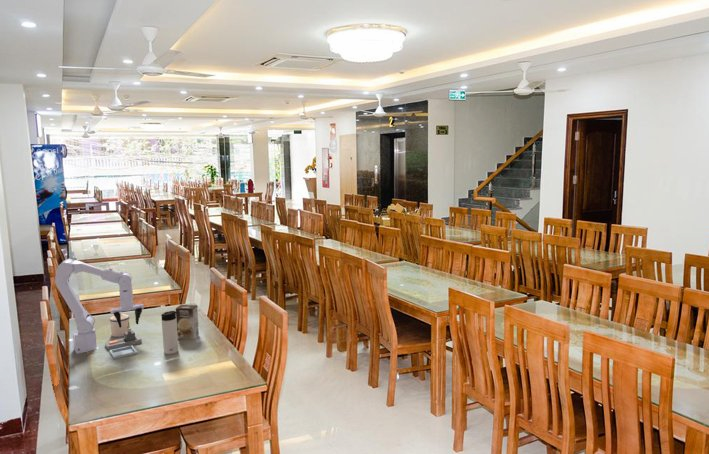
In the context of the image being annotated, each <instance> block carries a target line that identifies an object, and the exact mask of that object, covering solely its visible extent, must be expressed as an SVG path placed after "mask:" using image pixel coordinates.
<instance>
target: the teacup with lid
mask: <svg viewBox="0 0 709 454" xmlns="http://www.w3.org/2000/svg"><path fill="white" fill-rule="evenodd" d="M119 313H120V315H121V328H120V327H119V324H118V322H117V319H116V318H115V316H114V315H112V316H111V317H110V318H109V321H110V331H111V336H112V337H114V338H121V337H122V338H123V337H125V335H124V332H128V328H131V327H130V316H129V315H128V314H127V313H126V314H124V313H122V312H119Z"/></svg>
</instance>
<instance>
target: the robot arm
mask: <svg viewBox="0 0 709 454" xmlns="http://www.w3.org/2000/svg"><path fill="white" fill-rule="evenodd" d="M81 272H83V273H87V274H91V275H96V276H99V277H100V278H101V280H103V281H106V282H110V283H113V284H118V286H119V303H120V304H119V305H120V306H119V307H115V308H111V309H110V315H113V316H115V318H116V319H117V322H118V324H119V327H120V328H121V315H120V313H119V312H121V313H123V312H129V311H134V315H135V324H136V325H139V321H140V317H141V315H142V312H143V309H144V308H145V307H144V306H145V305H144V304H143V303H140V304H139V303H138V304H134V295H133V294H134V293H133V292H134V291H133V284H132V280H133V277H132V275H131V274H130V273H129V272H127V271H126V272H125V271H121V270H120V271H118V270H116V269H114V268H112V267H106V268H104V269H103V268H100V267H98V266H94V265H91V264H88V263H86V262H83V261H81V260H76V259H72V258H66V259H64V260H63V261H61V263H59V264H58V266H57V267H56V269H55V279H54V284H55V286H56V288H57V289H58V291H59V293H60V294H61V296H62V298H63V299H64V301H65V303H66V305H67V306H68V308H69V310H70V312H71V314H72V315H73V317H74V322H75V325H76V330H77V332H76V333H73V335H72V337H73V339H72V340H73V350H74V351H75V354H82V353H86V352H90V351H95V350H99V349H100V348H99V346H98V345H97V344H98V343H97V334H96V328H95V327H94V325H95V322H96V319H95V317H94V316H93V315H91V314H90V313H89V311H88V310H86V309H85V308H84V306H83V304H82V302H81V301H80V299H79V297H78V295H77V294H76V292H75V290H74V289H73V287H72V285H71V283H70V282H69V280H70V278H71V275H72V274H78V273H81Z"/></svg>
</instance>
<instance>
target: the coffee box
mask: <svg viewBox="0 0 709 454" xmlns="http://www.w3.org/2000/svg"><path fill="white" fill-rule="evenodd" d="M175 311H176V324H177V338H178V340H195V339H197V338H198V337H199V336H200V331H199V315H198V314H199V311H198V305H196V304H180V305H178V306H177V307H176V308H175Z"/></svg>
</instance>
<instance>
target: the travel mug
mask: <svg viewBox="0 0 709 454" xmlns="http://www.w3.org/2000/svg"><path fill="white" fill-rule="evenodd" d="M161 329H162V332H161V333H162V342H163V354H164V355H167V356H171V355H175V354H179V343H178V341H179V339H178V338H177V322H176V310H170V311H166V312H163V313H161Z"/></svg>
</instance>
